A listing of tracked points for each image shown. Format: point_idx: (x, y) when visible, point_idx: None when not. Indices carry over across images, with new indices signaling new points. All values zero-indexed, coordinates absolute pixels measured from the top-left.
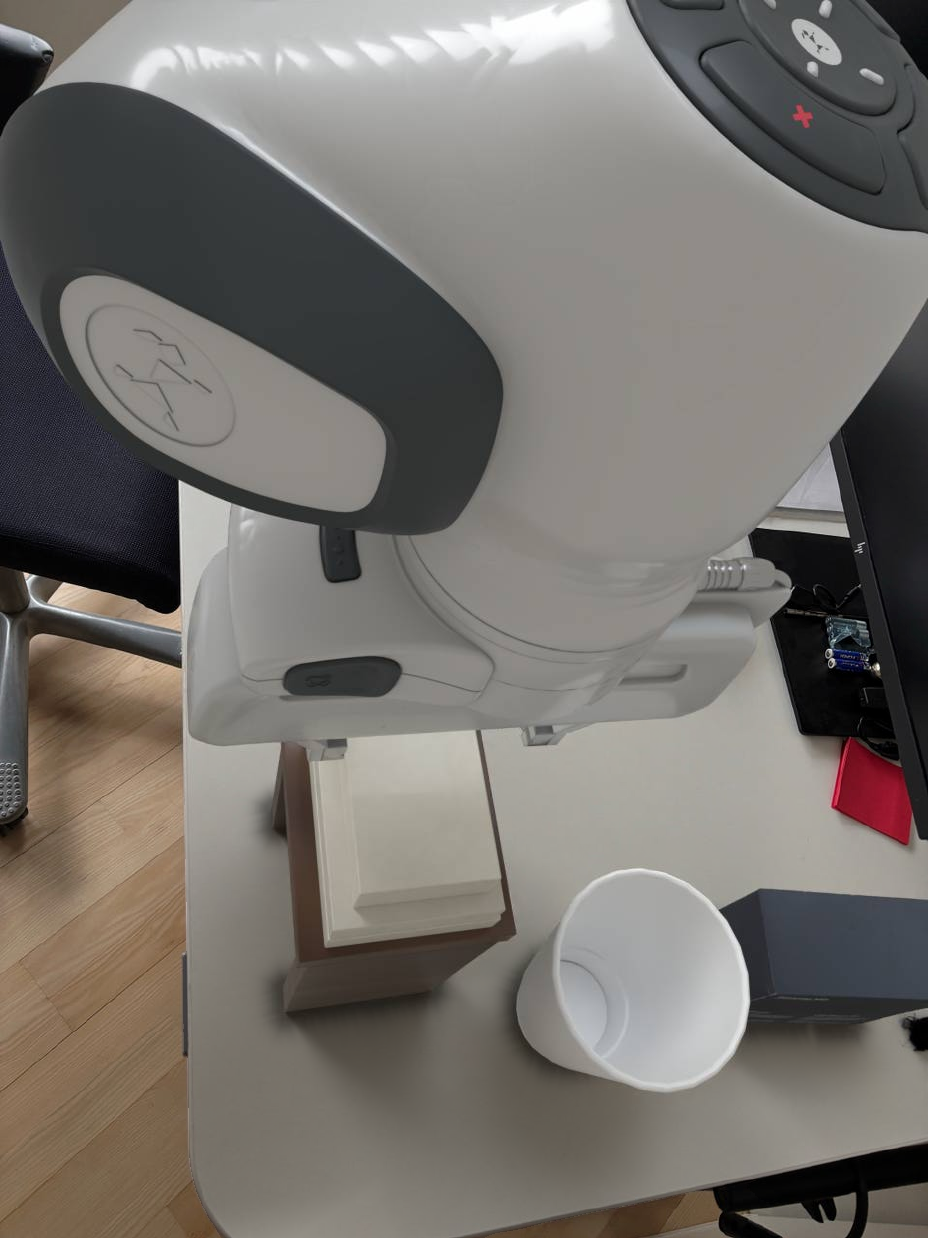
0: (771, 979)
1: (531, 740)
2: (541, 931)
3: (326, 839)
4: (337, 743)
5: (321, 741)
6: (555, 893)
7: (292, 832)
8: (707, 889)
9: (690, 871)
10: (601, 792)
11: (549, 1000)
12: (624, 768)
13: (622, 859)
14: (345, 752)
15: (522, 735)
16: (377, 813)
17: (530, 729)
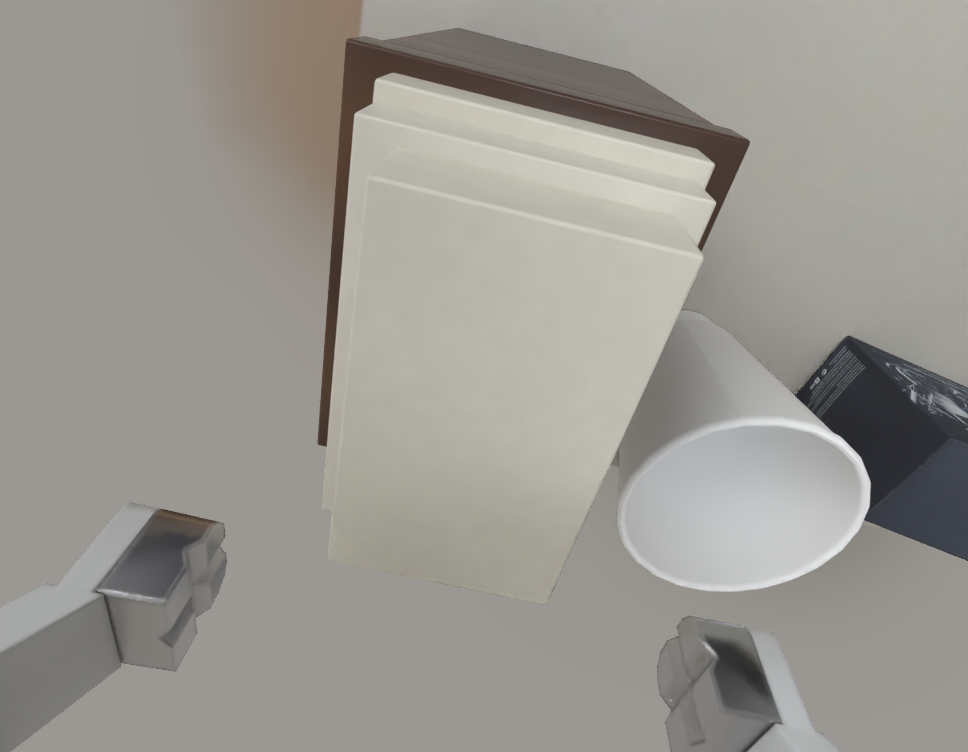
0: (872, 506)
1: (666, 720)
2: (697, 284)
3: (331, 411)
4: (147, 663)
5: (77, 694)
6: (738, 254)
7: (330, 303)
8: (908, 312)
9: (907, 288)
10: (886, 158)
11: (623, 461)
12: (946, 136)
13: (841, 247)
14: (195, 633)
15: (668, 652)
16: (381, 481)
17: (677, 721)
